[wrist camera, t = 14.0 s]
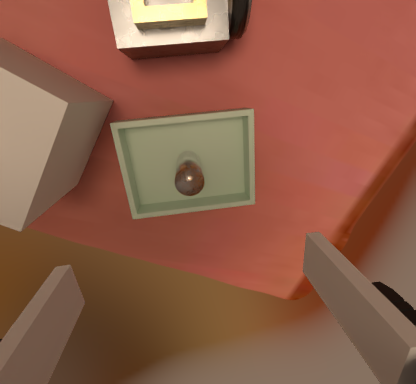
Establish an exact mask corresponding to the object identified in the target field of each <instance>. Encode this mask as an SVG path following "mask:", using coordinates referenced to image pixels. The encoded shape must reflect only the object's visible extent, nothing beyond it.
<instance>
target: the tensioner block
mask: <svg viewBox="0 0 416 384" xmlns="http://www.w3.org/2000/svg"><path fill="white" fill-rule="evenodd" d="M251 2H252V0H108V5H109V10H110V15H111V20H112V25H113V29H114V34H115V39H116V44H117V49H119V50H120V51H121V52H123V53H124V54H125V55H127V56H128V57H129V58H131V59H132V60H134V59H146V58H157V57H169V56H181V55H193V54H205V53H217V52H219V51H220V50H221V49H222V48H223V46H224V45H225V44H226V43H227V42H228V40H229V39H240V38H241V37H242V35H243V34H244V33H245V31H246V29H247V26H248V22H249V17H250V11H251Z"/></svg>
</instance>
